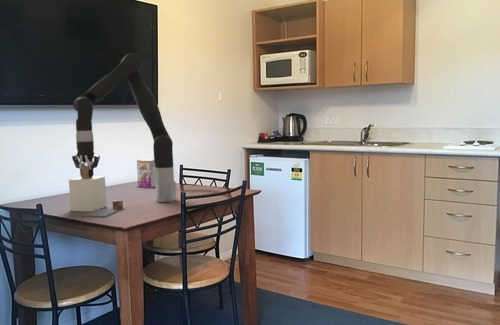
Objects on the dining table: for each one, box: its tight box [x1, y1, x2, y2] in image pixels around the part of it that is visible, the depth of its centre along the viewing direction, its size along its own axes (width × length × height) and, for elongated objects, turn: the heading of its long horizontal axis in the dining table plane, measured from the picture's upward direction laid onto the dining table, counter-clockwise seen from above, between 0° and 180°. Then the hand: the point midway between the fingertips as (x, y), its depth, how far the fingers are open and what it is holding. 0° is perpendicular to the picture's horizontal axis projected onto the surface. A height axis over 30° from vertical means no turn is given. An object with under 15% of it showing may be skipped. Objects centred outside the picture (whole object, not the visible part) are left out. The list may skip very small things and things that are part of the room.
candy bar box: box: [136, 158, 156, 189], centre depth 279 cm, size 11×5×16 cm, turn 58°
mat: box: [82, 209, 119, 218], centre depth 207 cm, size 11×11×1 cm
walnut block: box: [112, 199, 124, 211], centre depth 218 cm, size 4×4×4 cm
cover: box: [68, 164, 107, 212], centre depth 218 cm, size 12×12×21 cm
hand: (87, 176), depth 217 cm, fingers closed on cover, 3 cm apart
